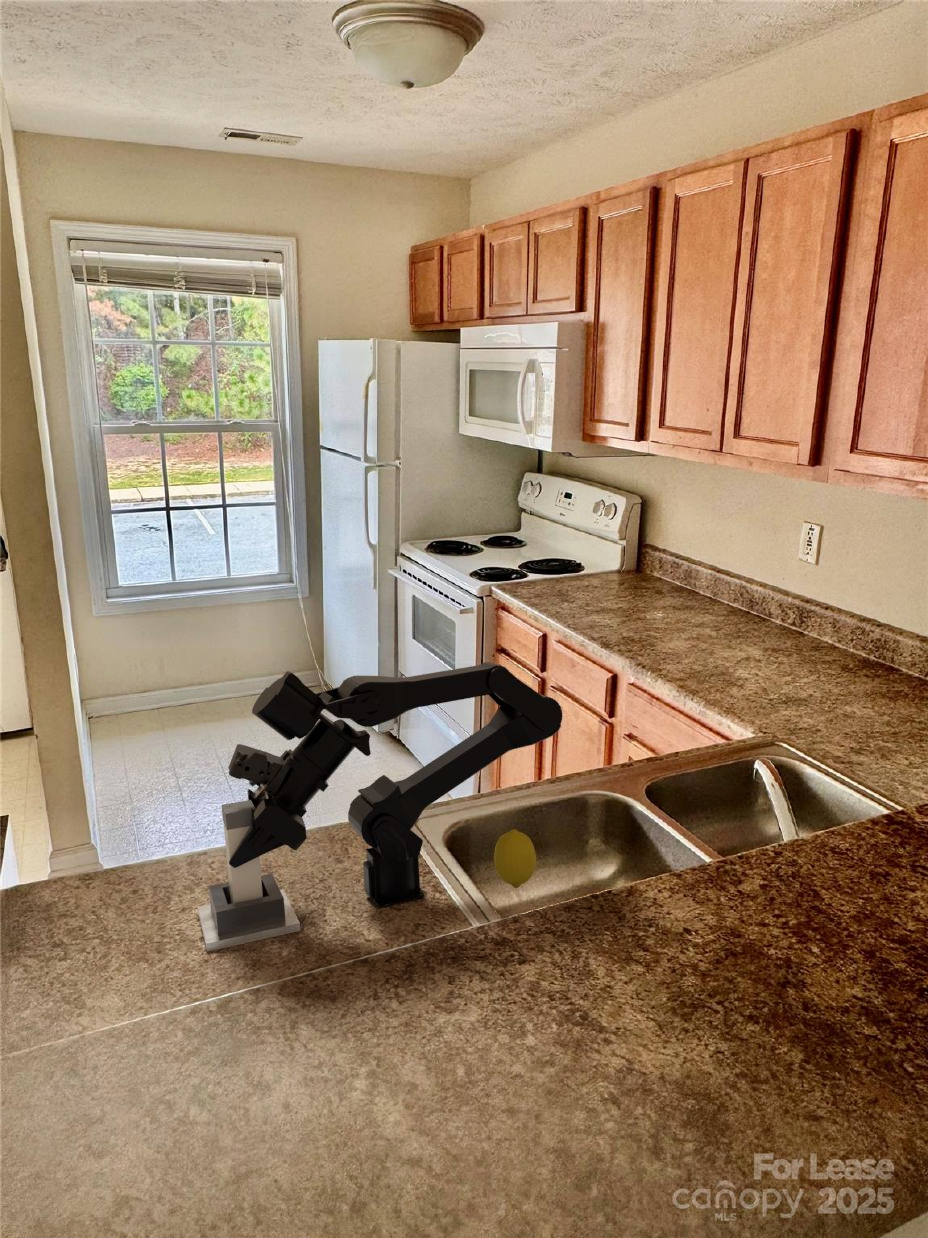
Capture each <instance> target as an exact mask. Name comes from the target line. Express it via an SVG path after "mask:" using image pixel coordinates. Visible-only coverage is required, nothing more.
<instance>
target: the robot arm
mask: <svg viewBox="0 0 928 1238" xmlns="http://www.w3.org/2000/svg"><path fill="white" fill-rule="evenodd" d="M484 696H488V697H489V698H490V699H491V700H492V701H493V702H494V703H495V704H496V705H497V706H498V708H497V710H496V712H495V713H494V715H493V717H492V718H491V719H490V721H489V722H488V723H487V724H486V725H484V726H483V727H482V728H480V729H479V730H477V731H475V732H474V733H473V734H472V735H470V736H468V737H466V738H465V739H464V740H462V741H461V742H459V743H458V744H456V745H454V746H453V747H451V748H450V749H449V750H447V751H446V752H444V753H442V754H441V755H440V756H438V757H436V758H435V759H433V760H432V761H430V762H429V763H427V764H426V765H424V766H422V767H421V768H419V770H417V771H415V772H413V773H412V774H411V775H409V776H408V777H406V778H404V779H401V780H398V781H397V780H396V781H393V780H392V779H390V777H388V776H387V775H385V774H383V775H381V776H379V777H378V778H377V779H376V780H374V782H372V783H371V784H370V785H368V786H366V787H365V788H360V789H358V790H357V791H358V793H359V794H358V795H357V796H356V797H355V798H354V799H353V800H352V801H351V802H350V805H349V809H348V811H347V813H348V814H347V816H348V817H347V819H348V822H349V825H350V827H351V828H352V830H353V831H354V832H355V833H356V834H357V835H358V836H359V837H360V838H361V839H362V840H363V841H364V842H365V843H366V845H368V846H370V847H369V848H366V849H365V852H366V853H365V854H366V860H364V861H363V862H362V867H363V868H362V869H363V885H364V892H365V893H366V894H367V896H368V897H369V898H370V899H371V900H372V901H373V903H374V904H375V906H377V907H379V908H381V907H386V906H390V905H395V904H399V903H403V902H408V901H413V900H417V899H422V898H425V896H426V894H425V891H424V890H423V889H422V888H421V880H420V877H421V876H420V864H419V863H420V862H419V855H421V851H422V847H423V843H424V840H423V838H421V837H420V836H419V835H418V834H417V833H416V832H414V831H413V830H412V829H413V827H414V826H415V825H416V823H417V821H418V820H419V818H420V816H421V815H422V813H423V812H424V810H425V809H426V808H427V807H428V806H430V805H432V804H433V803H435V802H437V801H438V800H439V799H441V798H442V797H444V796H445V795H446V794H447V793H448V794H449V792H452V790H454V789H455V788H457V787H458V786H460V785H461V784H463V783H464V782H466V781H467V780H468V779H470V778H471V777H473V776H474V775H476V774H477V773H479V772H480V771H482V770H483V769H484V768H486V767H488V766H489V765H491V764H492V763H494V762H495V761H496V760H498V759H499V758H501V757H503V755H505V754H506V753H508V752H511V751H513V750H517V749H521V748H525V747H529V746H533V745H536V744H538V743H540V742H543V741H545V740H546V739H549V738H552V737H553V736H555V735H556V734H557V733H558V732H559V731H560V729H561V727H562V721H563V710H562V707H561V705H560V703H559V702H558V701H557V700H555V699H554V698H553V697H550V696H547V695H543V694H542V693H539V692H537V691H536V690H534V689H533V688H532V687H530V686H529V685H527V684H526V683H524V682H523V681H522V680H521V679H519V678H517V677H516V676H515V675H514V674H513V673H511V672H510V670H509V669H508V668H507V667H506V666H503V665H500V664H498V663H494V662H490V661H489V662H487V661H486V662H482V663H481V664H478V665H471V666H467V667H466V666H465V667H460V668H455V669H447V670H441V671H437V672H430V673H423V674H418V675H411V676H405V677H401V676H400V677H399V676H397V677H395V676H383V675H352V676H349V677H347V678H346V679H344V680H343V681H342V683H341V684H340V685H339V686H337V687H333V688H330V689H327V690H323V691H319V692H314V691H313V690H312V689H310V688H309V687H308V686H306V684H305V683H303V682H302V680H301V679H300V678H299V677H298V676H297V675H295V673H293V672H292V671H290V670H287V671H286V672H284V674H283V675H282V676H281V677H280V678H278V679H276V680H275V681H274V682H272V683H271V684H270V685H269V686H268V687H265V689H264V690H263V691H262V692H261V693H260V695H259V696H258V698H257V699H256V701H255V702H254V704H253V707H252V709H251V713H252V714H253V715H254V716H255V717H256V718H258V719H259V720H260V721H262V722H263V723H265V725H267V726H268V727H269V728H271V729H272V730H273V731H275V733H277V734H279V735H280V736H281V737H283V738H284V739H285V740H286V741H292V740H293V739H295V738H297V739H298V740H300V739H302V740H301V741H300V742H299V743H298V744H297V746H295V748H294V749H293V750H292V749H291V748H289V749H286V750H284V752H283V753H282V754H281V755H280V756H278V755H276V754H273V753H270V752H268V751H265V750H261V749H258V748H255V747H251V746H248V745H245V744H240V743H237V745H236V747H235V749H234V753H233V755H232V757H231V759H230V762H229V765H228V775H229V776H230V777H233V778H235V779H237V780H242V779H243V780H246V781H248V784H249V786H251V787H255V786H257V788H256V789H254V791H253V790H252V789H249V788H248V789H247V800H251V801H252V803H253V805H254V807H255V809H256V810H253V809H252V808H250V815H251V826H250V828H249V829H248V831H247V833H246V834H245V836H244V837H243V839H242V841H241V842H240V844H239V846H238V847H237V849H236V850H235V852H234V854H233V855H232V857H231V859H230V861H229V864H230V865H231V866H232V867H234V868H237V867H239V866H241V865H243V864H245V863H247V862H249V861H251V860H253V859H255V858H257V857H259V858H260V857H261V856H263V855H265V854H267V853H269V852H271V851H274V850H276V849H278V848H280V847H283V846H287V847H289V848H290V850H292V851H296V852H297V851H298V849H300V847H301V846H302V845H303V844H304V842H305V841H306V840H307V829H306V828H307V827H306V824H305V821H304V818H303V817H304V816H305V814H306V813H307V809H306V808H307V807H306V806H307V805H308V804H309V803H310V801H311V800H312V799H313V798H314V797H315V795H317V793H318V792H319V791H322V793H324V792H325V790H327V788H328V787H329V783H328V781H329V779H330V778H331V777H332V776H333V775H334V773H335V772H336V770H338V768H340V766H341V765H342V764H343V763H344V761H345V760H346V759H347V758H348V757H349V756H350V755H351V753H352V752H353V751H354V749H357V750H358V751H359V752H360V753H362V754H363V755H365V756H366V757H370V756H371V754H372V753H371V747H370V738H371V734H370V732H368V731H367V730H366V729H363V730H356V729H355V728H354V727H352V726H351V725H350V724H349V723H347V722H346V721H345V719H347V720H351V721H352V722H354V723H356V724H357V725H358V726H361V727H364V728H370V727H376V726H379V725H381V724H384V723H386V722H389V721H392V720H395V719H397V718H399V717H400V716H402V715H404V714H406V712H409V711H412V710H414V709H417V708H422V707H428V706H434V705H439V704H445V703H450V702H455V701H462V700H466V699H471V698H477V697H484ZM323 710H325V711H327V712H328V713H330V714H331V715H333V716H334V717H336V718H337V720H335V721H333V720H332V719H330V718H329V717H327V716H326V715H325V714H323V713H322V712H323Z"/></svg>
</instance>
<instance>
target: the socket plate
mask: <svg viewBox="0 0 928 1238" xmlns="http://www.w3.org/2000/svg"><path fill="white" fill-rule="evenodd" d="M261 882H262V894H263V897H262V898H257V899H253V900H248V901H243V902H238V903H233V904H231V900H230V889H229V881H227V882H223V883H222V882H221V883H216V884H211V885H208V889H209V890H208V891H209V904H206V905H200V906H197V913H198V919H199V922H200V923H199V924H200V927H201V931H202V935H203V936H202V937H203V941H204V945H205V948H206V952H213V951H217V950H222V949H225V948H229V947H230V948H231V947H234V946H239V945H244V944H248V943H252V942H257V941H261V940H265V939H270V938H274V937H279V936H283V935H287V934H292V933H296V932H300V931H301V923H300V921H299V919H298V917H297V915H296V912H295V910H294V909H293V906H292V904H291V903H290V900H289V898H288V896H287V894H286V892H285V890H284V889H280V888H279V886H278V884H277V881H276V879H275V877H274V875H273V873H267V874H261Z"/></svg>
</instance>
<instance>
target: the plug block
mask: <svg viewBox="0 0 928 1238" xmlns="http://www.w3.org/2000/svg"><path fill="white" fill-rule="evenodd" d="M250 808H252V809H253V810H256V809H255V807H254V805H253V803H252V801H251V800H248V799H247V800H241V801H236V802H230V803H229V802H228V803H225V804H221V813H222V821H223V832H224V841H225V844H224V845H225V853H226V854H225V855H226V865H227V875H228V882H229V889H230V900H231V904H233V903H238V902H243V901H248V900H253V899H257V898H262V897H263V894H262V882H261V875H262V873H261V863H260V862H261V861H260V856H259V857H257V858H255V859H253V860H251V861H249V862H247V863H245V864H243V865H241V866H239V867H237V868H234V867H232V866H231V865H230V864H229V861H230V859H231V857H232V855H233V854H234V852H235V850H236V849H237V847H238V846H239V844H240V842H241V841H242V839H243V837H244V836H245V834H246V833H247V831H248V829H249V828H250V826H251V815H250Z"/></svg>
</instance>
